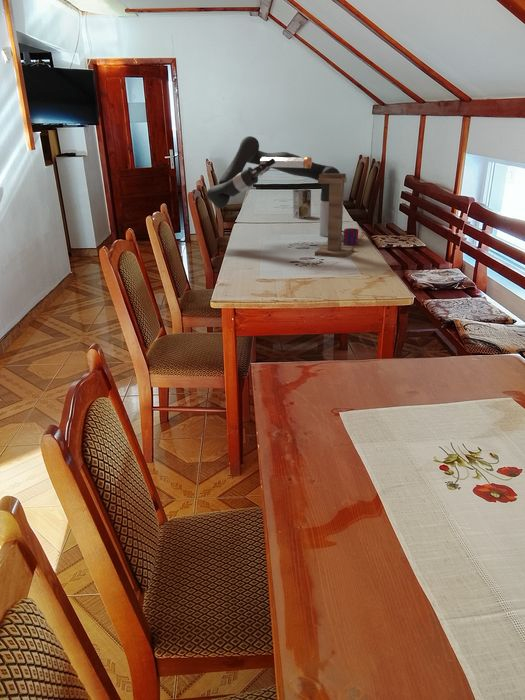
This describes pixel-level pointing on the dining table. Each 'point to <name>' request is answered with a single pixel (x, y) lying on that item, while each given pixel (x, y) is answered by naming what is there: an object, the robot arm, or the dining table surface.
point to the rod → (289, 162)
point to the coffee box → (301, 203)
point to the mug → (350, 236)
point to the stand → (334, 216)
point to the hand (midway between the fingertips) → (275, 160)
